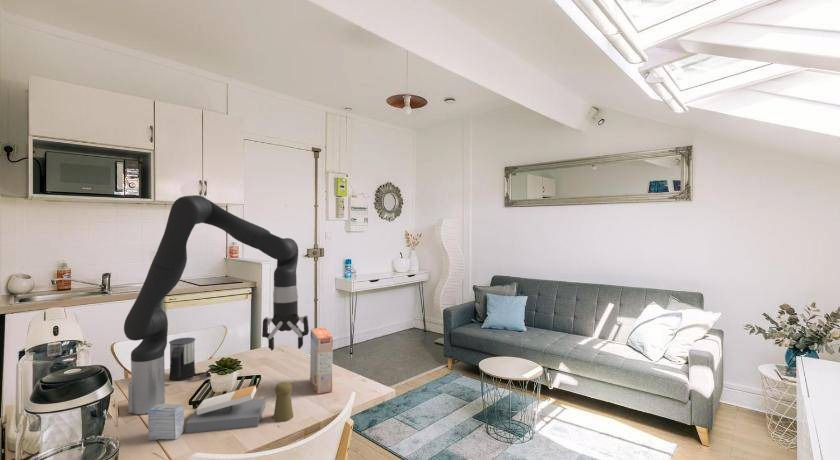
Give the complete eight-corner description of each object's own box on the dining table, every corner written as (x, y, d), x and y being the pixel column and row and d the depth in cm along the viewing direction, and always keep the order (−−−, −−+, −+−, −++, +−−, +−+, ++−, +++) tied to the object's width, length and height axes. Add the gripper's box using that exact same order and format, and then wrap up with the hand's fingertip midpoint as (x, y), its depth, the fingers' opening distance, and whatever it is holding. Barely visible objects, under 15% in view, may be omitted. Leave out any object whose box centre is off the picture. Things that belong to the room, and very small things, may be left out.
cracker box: (333, 392, 146) (333, 335, 145) (316, 395, 143) (316, 337, 143) (325, 378, 159) (325, 326, 158) (309, 380, 156) (309, 328, 156)
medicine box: (184, 432, 118) (184, 403, 118) (175, 440, 114) (175, 410, 113) (157, 432, 118) (157, 403, 118) (147, 440, 113) (147, 410, 113)
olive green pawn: (286, 410, 131) (286, 378, 131) (297, 416, 128) (297, 382, 127) (269, 417, 127) (269, 383, 127) (280, 423, 123) (280, 389, 123)
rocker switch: (197, 414, 120) (196, 409, 120) (204, 404, 127) (203, 399, 127) (252, 399, 124) (250, 394, 124) (256, 390, 131) (255, 385, 130)
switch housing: (185, 433, 117) (185, 416, 117) (200, 412, 130) (200, 397, 130) (257, 426, 121) (257, 410, 121) (265, 406, 134) (265, 392, 134)
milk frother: (168, 375, 161) (168, 339, 160) (212, 367, 169) (212, 333, 169) (169, 388, 149) (169, 348, 148) (216, 378, 157) (216, 342, 157)
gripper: (259, 302, 124) (260, 354, 124) (306, 300, 127) (307, 351, 127) (264, 298, 131) (265, 346, 132) (309, 296, 134) (309, 344, 134)
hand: (286, 348), depth 129 cm, fingers open, 8 cm apart
